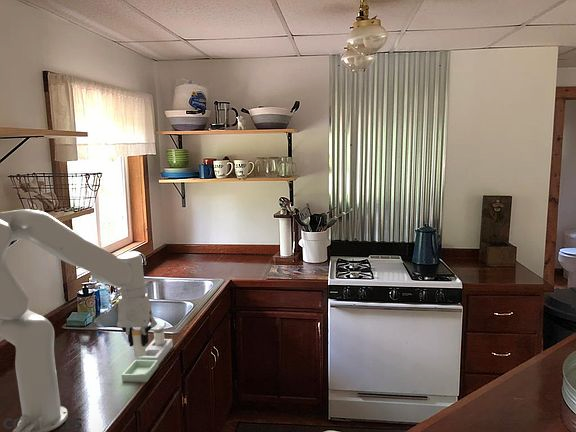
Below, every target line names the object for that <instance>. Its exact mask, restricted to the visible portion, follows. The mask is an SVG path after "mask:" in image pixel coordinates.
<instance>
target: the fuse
mask: <svg viewBox="0 0 576 432" xmlns="http://www.w3.org/2000/svg"><path fill="white" fill-rule="evenodd" d="M152 329H153V340H155V346H164V345H165V339H166V338H165V327H164V326H163V325H156V326H155V327H153V328H152Z"/></svg>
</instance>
